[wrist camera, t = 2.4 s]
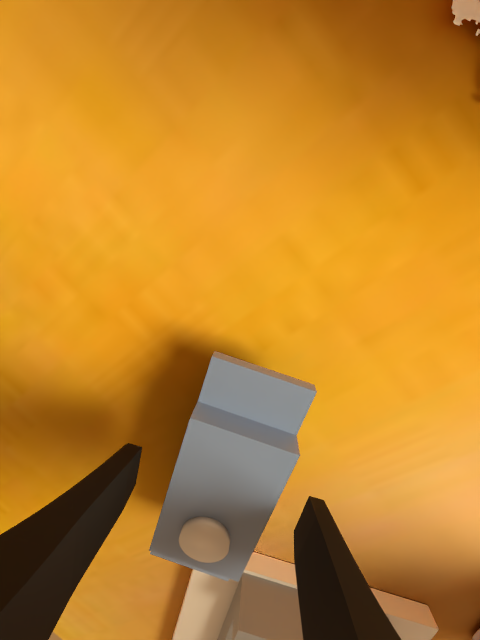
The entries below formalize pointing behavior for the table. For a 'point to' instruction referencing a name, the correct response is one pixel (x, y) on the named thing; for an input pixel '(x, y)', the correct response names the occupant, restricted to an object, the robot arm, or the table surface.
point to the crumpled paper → (466, 11)
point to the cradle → (273, 606)
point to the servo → (231, 466)
